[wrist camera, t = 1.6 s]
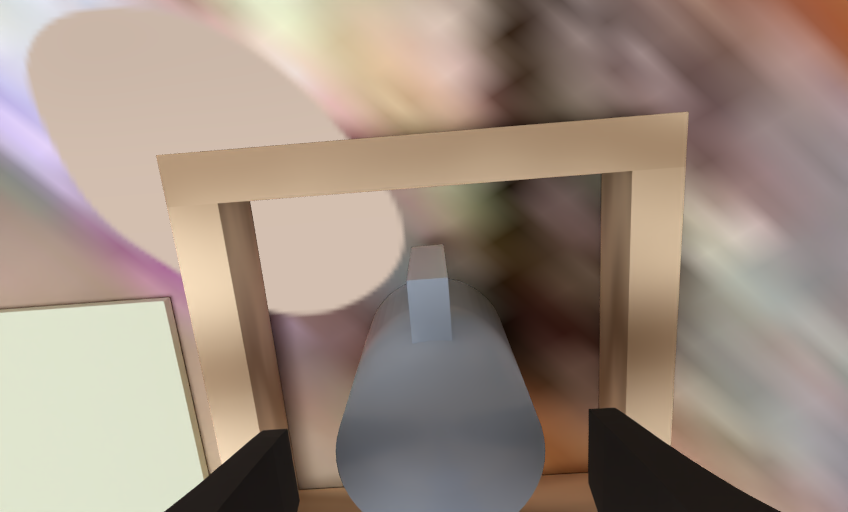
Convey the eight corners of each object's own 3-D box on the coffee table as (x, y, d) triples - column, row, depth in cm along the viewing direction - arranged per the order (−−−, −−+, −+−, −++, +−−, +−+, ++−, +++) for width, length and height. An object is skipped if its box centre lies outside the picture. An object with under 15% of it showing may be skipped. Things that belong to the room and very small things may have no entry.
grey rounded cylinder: (506, 398, 18) (546, 536, 12) (375, 406, 18) (348, 547, 12) (499, 228, 17) (542, 285, 10) (356, 239, 17) (313, 301, 11)
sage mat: (224, 545, 20) (220, 553, 20) (-31, 560, 20) (-40, 568, 20) (169, 297, 17) (163, 301, 17) (-124, 318, 18) (-136, 322, 17)
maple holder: (635, 501, 19) (665, 554, 17) (267, 523, 20) (245, 577, 17) (648, 115, 16) (688, 112, 13) (197, 152, 16) (156, 155, 14)
